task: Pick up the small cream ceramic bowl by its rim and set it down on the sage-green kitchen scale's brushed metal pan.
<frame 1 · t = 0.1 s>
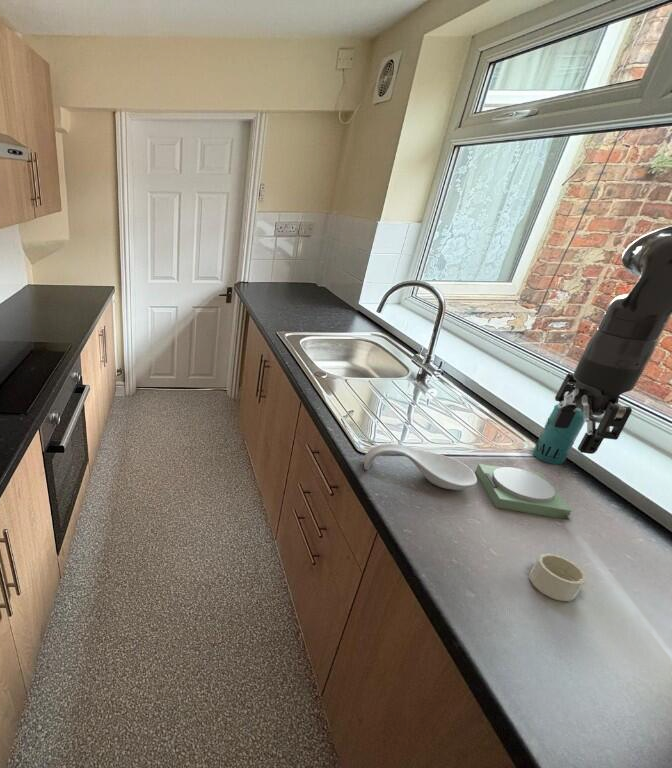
hand: (571, 438, 77), 23 cm above the worktop, tool pointing down, fingers open, 8 cm apart
beverage bottle: (545, 462, 107), on the worktop
spoon rest: (415, 476, 102), on the worktop
scale: (517, 493, 96), on the worktop
bowl: (550, 587, 75), on the worktop
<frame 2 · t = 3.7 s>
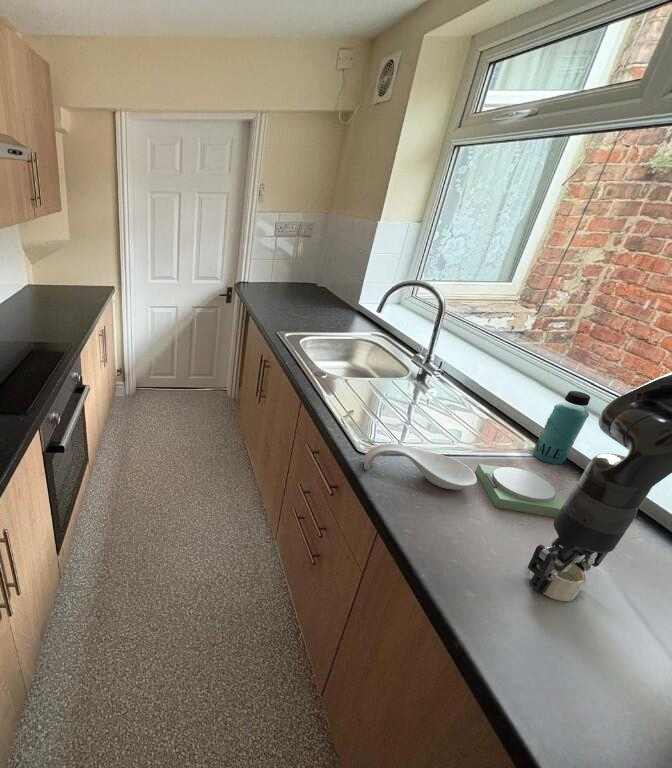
hand: (552, 584, 74), 1 cm above the worktop, tool pointing down, fingers closed on bowl, 6 cm apart
bowl: (550, 587, 75), on the worktop, touching gripper
everything else where it was.
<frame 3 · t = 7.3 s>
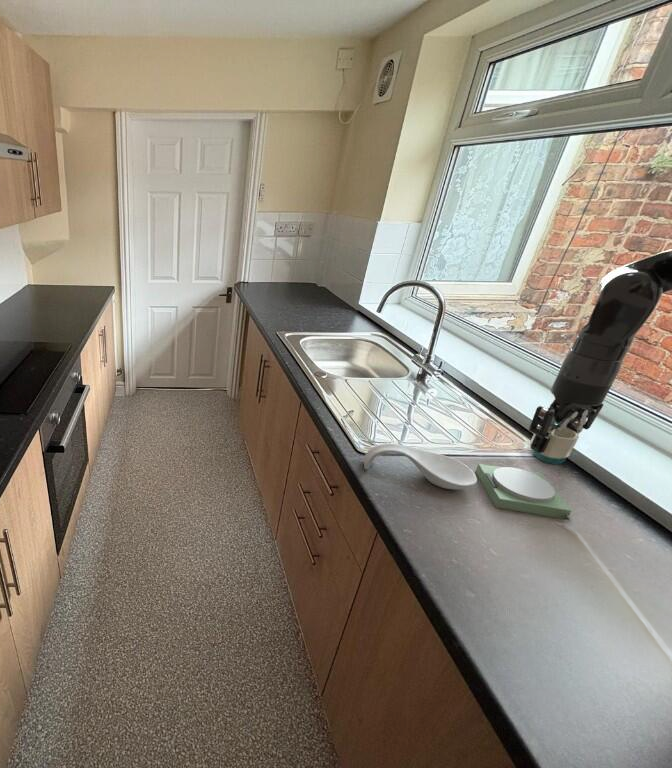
hand: (549, 448, 86), 16 cm above the worktop, tool pointing down, fingers closed on bowl, 6 cm apart
bowl: (547, 450, 86), point 15 cm above the worktop, touching gripper
everything else where it was.
when the fingers open (4 cm above the worktop, at t = 10.8 s): bowl stays where it is, resting on scale.
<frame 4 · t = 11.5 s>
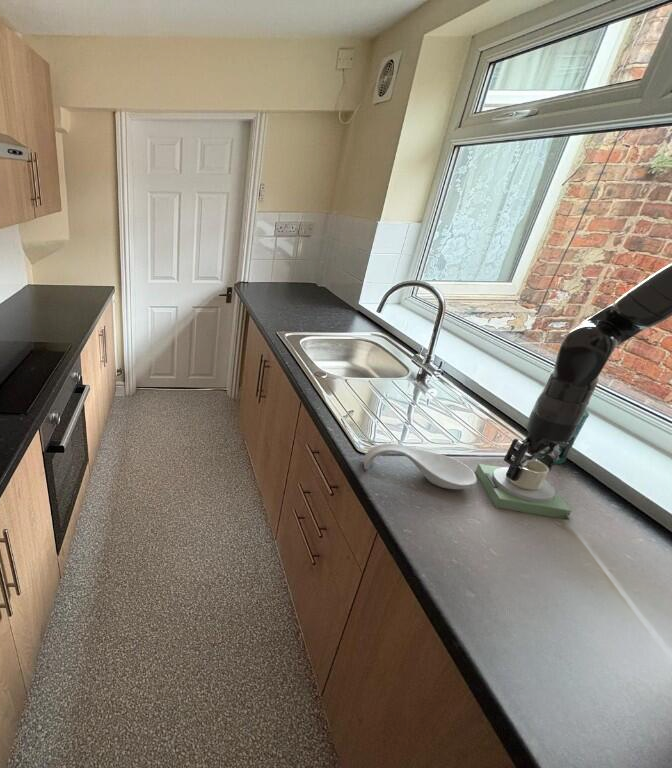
hand: (526, 475, 94), 5 cm above the worktop, tool pointing down, fingers open, 8 cm apart
bowl: (522, 481, 95), point 3 cm above the worktop, touching scale
everything else where it was.
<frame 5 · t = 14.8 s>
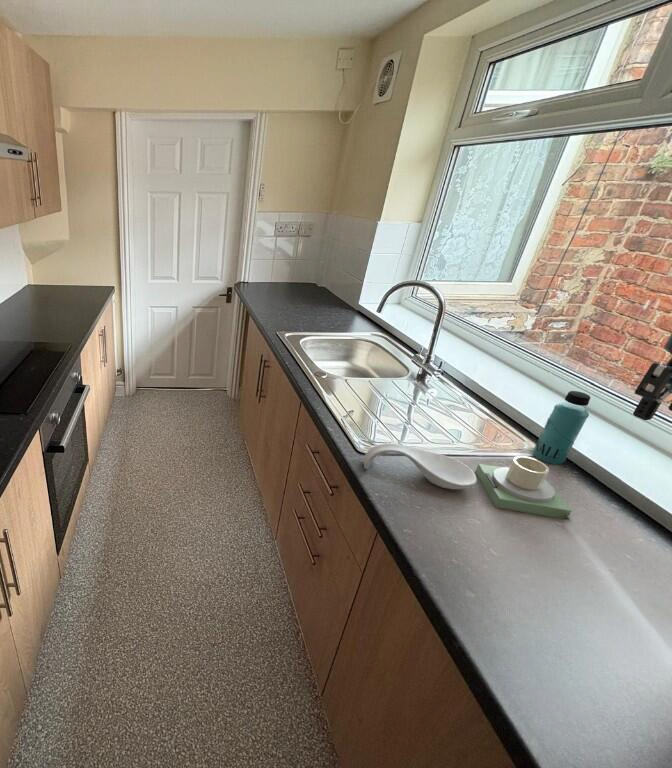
hand: (659, 414, 74), 28 cm above the worktop, tool pointing down, fingers open, 8 cm apart
nothing on the worktop moved.
at the end: bowl inside the target area on the scale (0.1 cm from its centre), point 3.5 cm above the scale's base; bowl tilted 0°; the gripper is holding nothing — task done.
